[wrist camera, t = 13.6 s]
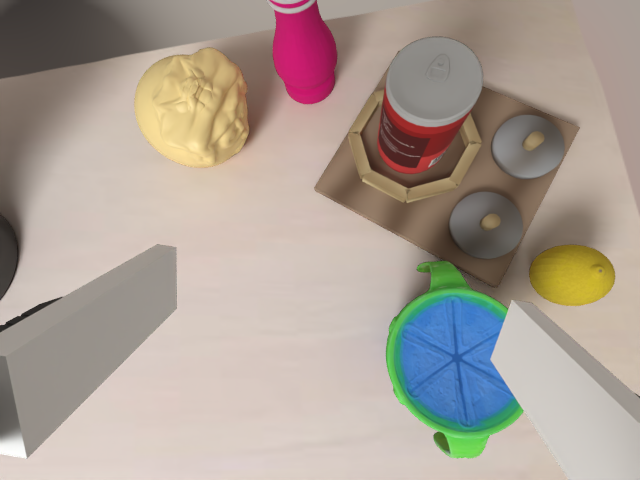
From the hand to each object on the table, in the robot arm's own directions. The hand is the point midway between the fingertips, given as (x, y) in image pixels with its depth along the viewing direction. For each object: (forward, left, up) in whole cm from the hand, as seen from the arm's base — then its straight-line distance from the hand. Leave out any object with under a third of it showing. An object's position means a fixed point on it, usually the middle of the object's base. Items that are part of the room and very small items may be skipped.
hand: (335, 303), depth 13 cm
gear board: (+1, +19, -23) cm, 30 cm away
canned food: (-3, +19, -22) cm, 29 cm away
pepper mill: (-18, +21, -23) cm, 36 cm away
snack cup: (+9, +1, -23) cm, 25 cm away
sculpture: (-25, +9, -23) cm, 35 cm away
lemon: (+16, +13, -23) cm, 31 cm away
